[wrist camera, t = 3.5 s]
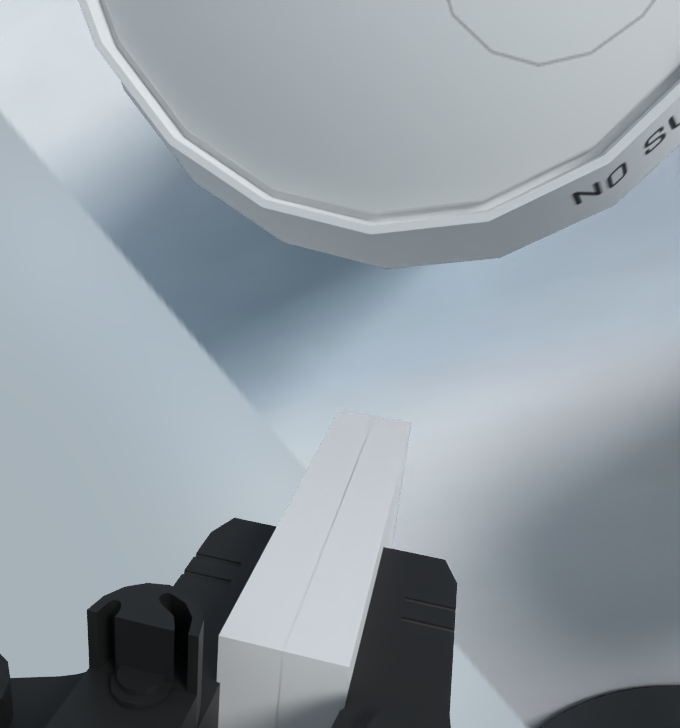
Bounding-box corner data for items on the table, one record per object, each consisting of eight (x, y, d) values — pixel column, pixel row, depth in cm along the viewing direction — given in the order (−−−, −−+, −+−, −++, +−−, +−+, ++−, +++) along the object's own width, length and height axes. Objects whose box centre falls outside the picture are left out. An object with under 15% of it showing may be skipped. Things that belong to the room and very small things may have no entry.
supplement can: (621, -107, 18) (1163, -1094, 4) (574, 205, 20) (780, 327, 6) (330, -98, 19) (-85, -778, 5) (321, 191, 22) (32, 264, 8)
